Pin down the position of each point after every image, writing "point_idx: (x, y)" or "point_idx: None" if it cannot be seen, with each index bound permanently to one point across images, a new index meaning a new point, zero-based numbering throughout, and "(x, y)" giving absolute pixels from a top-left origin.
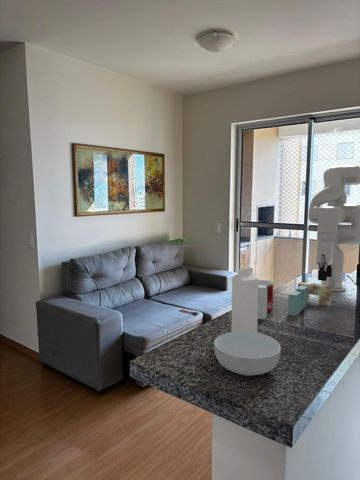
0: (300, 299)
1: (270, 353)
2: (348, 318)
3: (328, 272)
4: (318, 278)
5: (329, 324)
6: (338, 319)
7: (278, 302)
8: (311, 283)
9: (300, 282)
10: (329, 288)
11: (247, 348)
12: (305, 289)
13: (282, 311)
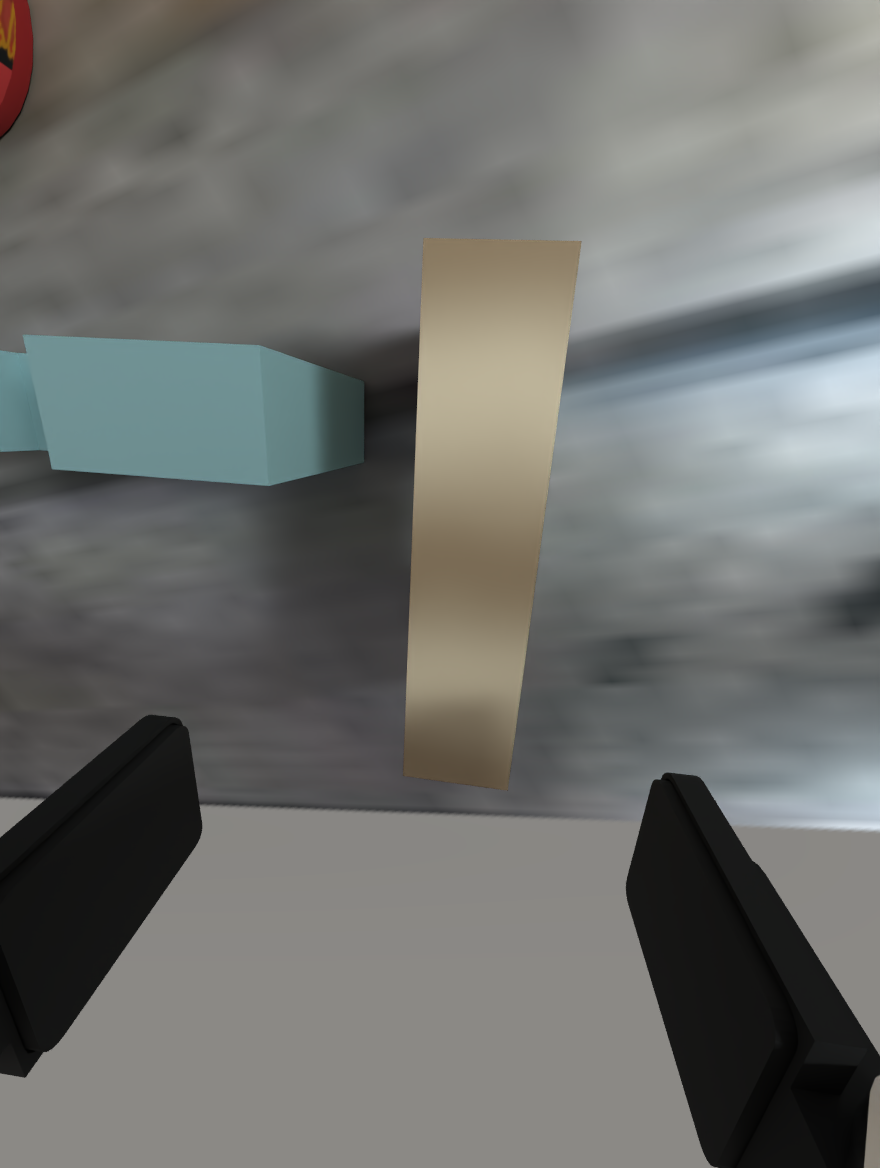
0: (5, 451)
1: None
2: (223, 772)
3: (667, 951)
4: (131, 739)
5: (29, 678)
6: None
7: (299, 100)
8: (540, 499)
9: (533, 266)
10: (406, 756)
11: None
12: (143, 473)
13: (34, 281)
